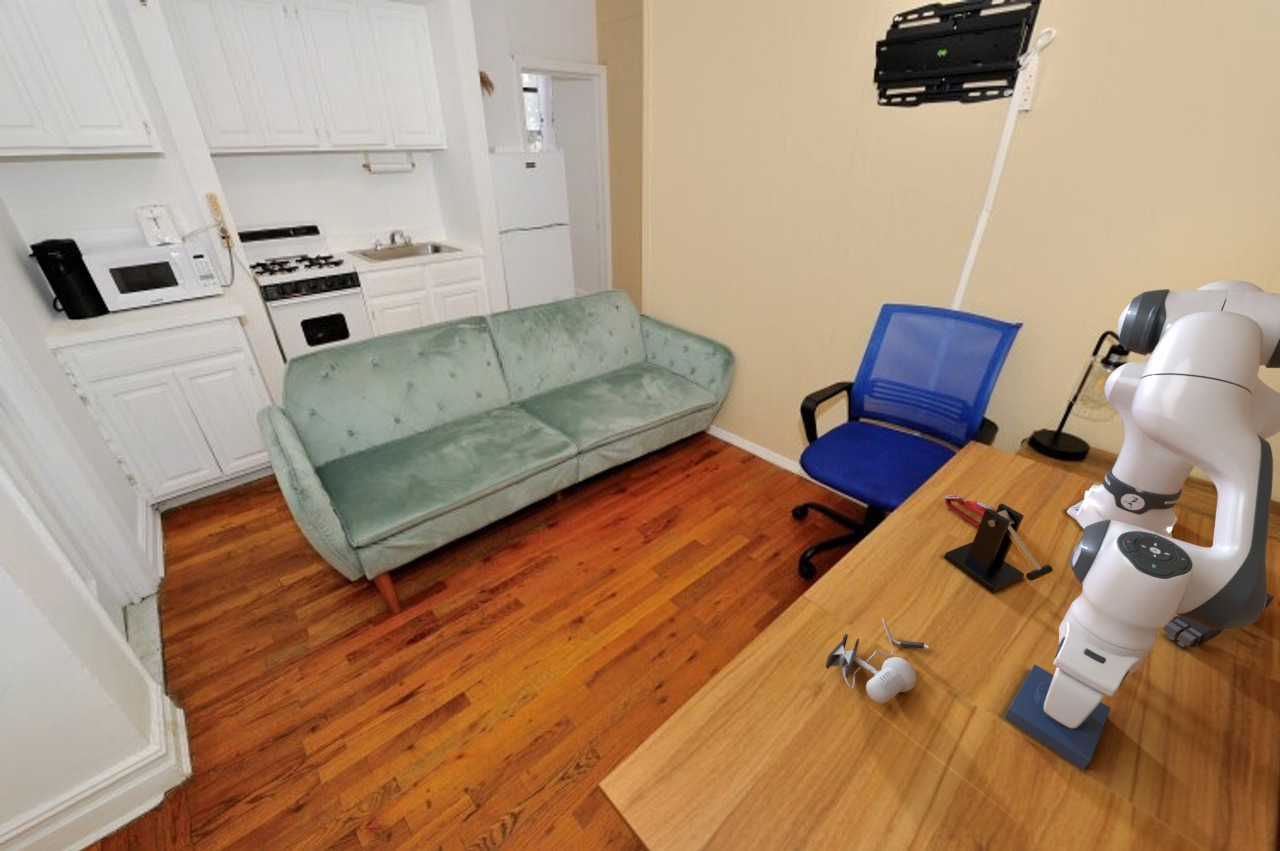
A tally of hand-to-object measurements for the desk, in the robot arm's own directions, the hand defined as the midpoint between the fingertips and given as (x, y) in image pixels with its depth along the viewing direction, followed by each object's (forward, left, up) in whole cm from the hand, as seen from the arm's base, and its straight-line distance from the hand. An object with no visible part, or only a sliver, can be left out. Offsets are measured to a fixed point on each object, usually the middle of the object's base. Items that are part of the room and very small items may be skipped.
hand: (1064, 700), depth 76 cm
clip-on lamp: (+12, -22, -4) cm, 26 cm away
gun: (-41, +13, -4) cm, 43 cm away
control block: (0, 0, -4) cm, 4 cm away
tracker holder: (-45, -28, -4) cm, 53 cm away
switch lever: (-26, -16, +5) cm, 30 cm away
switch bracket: (-27, -20, -4) cm, 33 cm away
